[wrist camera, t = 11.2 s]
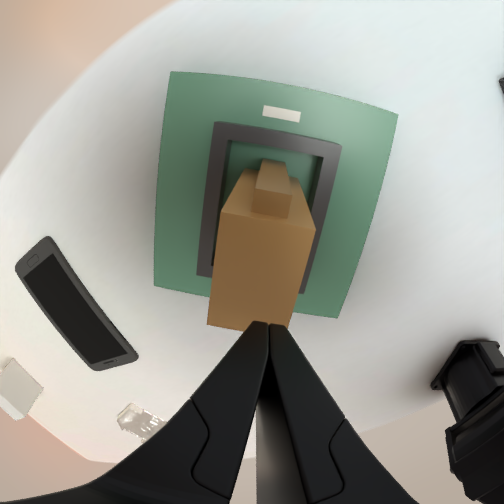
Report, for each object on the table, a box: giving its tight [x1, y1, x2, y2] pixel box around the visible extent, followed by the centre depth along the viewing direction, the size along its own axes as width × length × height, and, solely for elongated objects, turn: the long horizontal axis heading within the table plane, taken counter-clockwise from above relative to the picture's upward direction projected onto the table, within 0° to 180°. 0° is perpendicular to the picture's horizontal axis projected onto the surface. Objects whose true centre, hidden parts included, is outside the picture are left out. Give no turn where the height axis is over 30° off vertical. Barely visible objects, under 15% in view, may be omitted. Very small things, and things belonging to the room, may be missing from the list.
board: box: [154, 72, 398, 318], centre depth 17 cm, size 14×13×3 cm
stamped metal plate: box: [117, 403, 167, 444], centre depth 31 cm, size 8×7×2 cm
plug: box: [207, 158, 316, 331], centre depth 14 cm, size 5×3×8 cm, turn 170°
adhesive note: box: [0, 358, 43, 420], centre depth 29 cm, size 6×6×6 cm
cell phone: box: [15, 236, 139, 371], centre depth 24 cm, size 7×14×1 cm, turn 27°
